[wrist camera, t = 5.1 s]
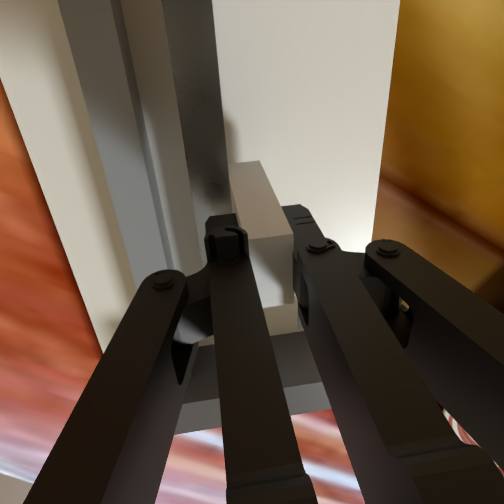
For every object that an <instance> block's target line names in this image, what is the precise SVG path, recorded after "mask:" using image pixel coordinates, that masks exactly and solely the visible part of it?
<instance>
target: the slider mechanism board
mask: <svg viewBox="0 0 504 504" xmlns="http://www.w3.org/2000/svg"><path fill="white" fill-rule="evenodd" d="M212 5H213V16H214V26H215V36H216V47H217V57H218V67H219V78H220V88H221V98H222V109H223V119H224V129H225V140H226V150H227V160H228V164H231V163H240V162H249V161H258V160H260V162H261V165H262V167H263V169H264V171H265V173H266V175H267V177H268V180H269V182H270V184H271V186H272V188H273V190H274V193H275V195H276V197H277V199H278V201H279V203H280V205H281V206H288V205H296V204H301V205H302V206H304V207H306V208H307V209H309V211H310V213H311V214H312V217H313V218H314V219H315V221H316V223H317V225H318V226H319V228H320V230H321V231H322V233H323V235H324V236H325V237H326V238H329V239H332V240H334V241H335V242H336V243H337V244H338V245H339V246H340V248H341V250H343V251H348V252H361V253H365V247H366V246H367V245H368V243H370V242H371V239H372V231H373V222H374V214H375V205H376V197H377V189H378V180H379V172H380V164H381V155H382V147H383V139H384V130H385V122H386V114H387V105H388V97H389V88H390V80H391V72H392V63H393V55H394V47H395V38H396V30H397V22H398V13H399V5H400V0H212ZM0 78H1V81H2V83H3V86H4V89H5V91H6V94H7V97H8V100H9V102H10V105H11V108H12V110H13V113H14V116H15V118H16V121H17V124H18V126H19V129H20V132H21V134H22V137H23V140H24V142H25V145H26V148H27V150H28V153H29V156H30V158H31V161H32V164H33V166H34V169H35V172H36V174H37V177H38V180H39V183H40V185H41V188H42V191H43V193H44V196H45V199H46V201H47V204H48V207H49V209H50V212H51V215H52V217H53V220H54V223H55V225H56V228H57V231H58V233H59V236H60V239H61V241H62V244H63V247H64V249H65V252H66V255H67V257H68V260H69V263H70V266H71V268H72V271H73V274H74V276H75V279H76V282H77V284H78V287H79V290H80V292H81V295H82V298H83V300H84V303H85V306H86V308H87V311H88V314H89V316H90V319H91V322H92V324H93V327H94V330H95V332H96V335H97V338H98V340H99V343H100V346H101V349H102V351H103V353H104V352H105V350H106V348H107V346H108V344H109V342H110V340H111V339H112V337H113V335H114V333H115V331H116V329H117V327H118V326H119V324H120V322H121V320H122V318H123V316H124V314H125V313H126V311H127V309H128V307H129V305H130V303H131V301H132V299H133V298H134V296H135V294H136V292H137V290H138V288H139V286H140V285H141V283H142V281H143V280H144V279H145V278H146V277H147V276H149V275H150V274H152V273H154V272H157V271H160V270H166V269H172V270H178V271H180V272H182V273H183V274H184V275H185V276H186V277H187V276H190V275H192V274H194V273H197V272H198V271H200V270H201V269H203V266H202V259H201V253H200V246H199V240H198V233H197V227H196V221H195V214H194V208H193V201H192V195H191V188H190V182H189V175H188V169H187V163H186V156H185V150H184V143H183V137H182V130H181V124H180V117H179V111H178V104H177V98H176V92H175V85H174V79H173V72H172V66H171V59H170V53H169V46H168V40H167V33H166V27H165V21H164V14H163V8H162V1H161V0H0ZM263 311H264V315H265V319H266V323H267V327H268V331H269V335H270V339H271V342H272V346H273V350H274V354H275V358H276V362H277V366H278V370H279V374H280V378H281V382H282V386H283V390H284V393H285V397H286V401H287V405H288V409H289V413H290V415H296V414H302V413H308V412H314V411H320V410H326V409H332V408H331V405H330V402H329V400H328V397H327V394H326V391H325V388H324V385H323V383H322V380H321V377H320V374H319V371H318V369H317V366H316V363H315V360H314V357H313V355H312V352H311V349H310V346H309V343H308V341H307V338H306V335H305V332H304V329H303V326H302V325H301V330H298V300H297V297H296V295H295V292H294V304H287V305H280V306H273V307H266V308H263ZM218 427H222V424H221V412H220V401H219V390H218V378H217V367H216V356H215V344H214V337H213V335H212V336H210V337H207V338H205V339H202V340H200V341H198V350H197V354H196V357H195V361H194V365H193V368H192V372H191V375H190V379H189V383H188V386H187V390H186V393H185V397H184V400H183V404H182V408H181V411H180V415H179V418H178V422H177V425H176V429H175V433H174V435H176V434H182V433H188V432H194V431H200V430H206V429H212V428H218Z"/></svg>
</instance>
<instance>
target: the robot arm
mask: <svg viewBox="0 0 504 504" xmlns="http://www.w3.org/2000/svg"><path fill="white" fill-rule="evenodd" d="M228 171H229V183H230V193H231V202H232V212H233V213H231V214H223V215H215V216H209V218H208V219H207V221H206V222H205V231H206V235H205V237H204V244H205V251H206V257H207V264H206V266H205V267H204V268H203V269H201V270H200V271H198V272H197V273H194V274H192V275H190V276H187V277H186V276H185V275H184V274H183V273H182V272H180V271H178V270H172V269H166V270H160V271H157V272H154V273H152V274H150V275H149V276H147V277H146V278H145V279H144V280H143V281H142V283H141V285H140V286H139V288H138V290H137V292H136V294H135V296H134V298H133V299H132V301H131V303H130V305H129V307H128V309H127V311H126V313H125V314H124V316H123V318H122V320H121V322H120V324H119V326H118V327H117V329H116V331H115V333H114V335H113V337H112V339H111V340H110V342H109V344H108V346H107V348H106V350H105V352H104V353H103V355H102V357H101V359H100V361H99V363H98V365H97V367H96V368H95V370H94V372H93V374H92V376H91V378H90V380H89V381H88V383H87V385H86V387H85V389H84V391H83V393H82V394H81V396H80V398H79V400H78V402H77V404H76V406H75V407H74V409H73V411H72V413H71V415H70V417H69V419H68V421H67V422H66V424H65V426H64V428H63V430H62V432H61V434H60V435H59V437H58V439H57V441H56V443H55V445H54V447H53V448H52V450H51V452H50V454H49V456H48V458H47V460H46V461H45V463H44V465H43V467H42V469H41V471H40V473H39V475H38V476H37V478H36V480H35V482H34V484H33V486H32V488H31V490H30V491H29V493H28V495H27V497H26V499H25V501H24V502H23V504H155V500H156V497H157V493H158V490H159V486H160V483H161V479H162V475H163V472H164V468H165V465H166V461H167V458H168V454H169V450H170V447H171V443H172V440H173V436H174V433H175V429H176V425H177V422H178V418H179V415H180V411H181V408H182V404H183V400H184V397H185V393H186V390H187V386H188V383H189V379H190V375H191V372H192V368H193V365H194V361H195V357H196V354H197V350H198V341H200V340H202V339H205V338H207V337H210V336H212V335H214V344H215V356H216V367H217V378H218V390H219V401H220V412H221V424H222V435H223V446H224V458H225V469H226V481H227V489H226V502H227V504H318V502H317V498H316V494H315V491H314V488H313V484H312V482H311V479H310V477H309V475H308V474H306V473H305V470H304V467H303V464H302V460H301V456H300V452H299V448H298V444H297V440H296V437H295V433H294V429H293V425H292V421H291V417H290V413H289V409H288V405H287V401H286V397H285V393H284V390H283V386H282V382H281V378H280V374H279V370H278V366H277V362H276V358H275V354H274V350H273V346H272V342H271V339H270V335H269V331H268V327H267V323H266V319H265V315H264V311H263V308H266V307H273V306H280V305H287V304H294V292H295V295H296V297H297V300H298V330H301V325H302V326H303V329H304V332H305V335H306V338H307V341H308V343H309V346H310V349H311V352H312V355H313V357H314V360H315V363H316V366H317V369H318V371H319V374H320V377H321V380H322V383H323V385H324V388H325V391H326V394H327V397H328V400H329V402H330V405H331V408H332V411H333V414H334V416H335V419H336V422H337V425H338V428H339V430H340V433H341V436H342V439H343V442H344V445H345V447H346V450H347V453H348V456H349V459H350V461H351V464H352V467H353V470H354V473H355V475H356V478H357V481H358V484H359V487H360V489H361V492H362V495H363V498H364V501H365V504H504V476H503V474H502V473H501V471H500V470H499V468H498V467H497V465H498V466H499V467H500V468H501V469H502V470H503V471H504V314H503V313H502V312H501V311H499V310H498V309H496V308H495V307H493V306H492V305H491V304H489V303H488V302H486V301H485V300H483V299H482V298H480V297H479V296H478V295H476V294H475V293H473V292H472V291H470V290H469V289H468V288H466V287H465V286H463V285H462V284H460V283H459V282H458V281H456V280H455V279H453V278H452V277H450V276H449V275H447V274H446V273H445V272H443V271H442V270H440V269H439V268H437V267H436V266H435V265H433V264H432V263H430V262H429V261H427V260H426V259H425V258H423V257H422V256H420V255H419V254H417V253H416V252H414V251H413V250H412V249H410V248H409V247H407V246H406V245H404V244H402V243H400V242H397V241H393V240H389V239H387V240H386V239H381V240H375V241H372V242H370V243H368V245H367V246H366V247H365V253H361V252H348V251H343V250H341V248H340V246H339V245H338V244H337V243H336V242H335V241H334V240H332V239H329V238H326V237H325V236H324V235H323V233H322V231H321V230H320V228H319V226H318V225H317V223H316V221H315V219H314V218H313V217H312V214H311V213H310V211H309V209H307V208H306V207H304V206H302V205H301V204H296V205H288V206H281V205H280V203H279V201H278V199H277V197H276V195H275V193H274V190H273V188H272V186H271V184H270V182H269V180H268V177H267V175H266V173H265V171H264V169H263V167H262V165H261V162H260V160H258V161H249V162H240V163H231V164H228ZM402 300H404V301H405V302H406V303H407V304H408V305H409V309H408V308H406V307H405V306H404V305H403V304H402ZM433 397H434V398H435V399H436V401H437V402H438V403H439V404H440V405H441V406H442V407H443V408H444V409H445V410H446V411H447V412H448V413H449V414H450V415H451V416H452V417H453V419H454V420H455V421H456V422H457V423H458V424H459V425H460V426H461V427H462V428H463V429H464V430H465V431H466V432H467V433H468V434H469V435H470V437H471V438H472V439H473V440H474V441H475V442H476V443H477V444H478V445H479V446H480V447H481V448H480V447H479V446H478V445H472V444H465V443H464V442H463V441H461V440H460V438H459V437H458V436H457V435H456V433H455V431H454V430H453V428H452V427H451V425H450V423H449V422H448V420H447V418H446V417H445V415H444V414H443V412H442V410H441V409H440V407H439V406H438V404H437V402H436V401H435V399H434V398H433ZM495 463H496V464H497V465H496V464H495Z"/></svg>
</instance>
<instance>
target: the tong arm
mask: <svg viewBox="0 0 504 504" xmlns="http://www.w3.org/2000/svg"><path fill="white" fill-rule="evenodd" d="M161 1H162V8H163V14H164V21H165V27H166V33H167V40H168V46H169V53H170V59H171V66H172V72H173V79H174V85H175V92H176V98H177V104H178V111H179V117H180V124H181V130H182V137H183V143H184V150H185V156H186V163H187V169H188V175H189V182H190V188H191V195H192V201H193V208H194V214H195V221H196V227H197V233H198V240H199V246H200V253H201V259H202V266H203V268H204V267H205V266H206V264H207V257H206V251H205V244H204V237H205V235H206V231H205V222H206V221H207V219H208V218H209V216H215V215H223V214H231V213H233V212H232V202H231V193H230V183H229V171H228V160H227V150H226V140H225V129H224V119H223V109H222V98H221V88H220V78H219V67H218V57H217V47H216V36H215V26H214V16H213V5H212V0H161ZM213 337H214V335H213Z"/></svg>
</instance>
